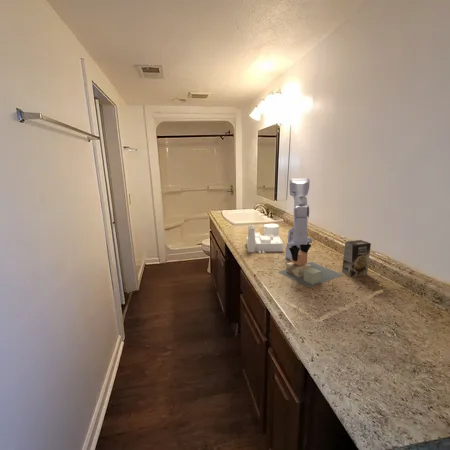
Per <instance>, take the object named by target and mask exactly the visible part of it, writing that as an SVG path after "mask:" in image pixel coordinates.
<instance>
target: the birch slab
mask: <svg viewBox="0 0 450 450" xmlns="http://www.w3.org/2000/svg"><path fill="white" fill-rule="evenodd" d="M307 263H308V262H307ZM307 263H306V264H302V265H297V264H295V263H292V262H291V261H290V262H287V263H285V264H286V265H285V267H286V268H285V270H286V271H287V272H289V273H291V274H293V275H295V276H297V277H301V276H304V270H305V269H308V268H311V265H310V264H307Z"/></svg>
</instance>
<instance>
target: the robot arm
mask: <svg viewBox="0 0 450 450" xmlns="http://www.w3.org/2000/svg"><path fill="white" fill-rule="evenodd" d="M309 189H310V179H309V177H308V178H292V177H291V178H290V179H289V195H290V197H293V204H294V205H293V226H292V227H291V228H290V229H289V230H288V232H287V242H286V246H285V255H284V257H285V259H286V260H287V259H288V260H289V261H291V259H293V261H297V258H298V253H299V250H301V251H303V252H306V253H307V254H308V251H309V250H310V248H311V247H312V243H313V238H311V237H308V235H309V234H308V221H309V220H308V219H309V217H310V207H309V206H310V205H309V204H308V198H307V197H306V196H308V194H309V191H310V190H309Z"/></svg>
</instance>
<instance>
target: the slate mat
mask: <svg viewBox="0 0 450 450" xmlns="http://www.w3.org/2000/svg"><path fill="white" fill-rule="evenodd" d="M307 264H310V265H311V268H315V269H317V270H319V271H321V279H320V282H318V283H316V284H313V285H312V284H310V283H308V282H306V281H304V276H301V277H297V276H295V275H293V274H291V273H289V272H287V271H286V269H282V270H279V271H278V274H281V275H282V276H285V277H287V278H288V279H290V280H292V281H295V282H296V283H299V284H300V285H302V286H304V287H305V288H308V289H309V288H312V287H314V286H317V285H320V284H323V283H326V282H328V281H330V280H334V279H337V278H340V277H342V276H344V273H343V274H342V273H340V272H337V271H335V270H333V269H330V268H328V267H326V266H323V265H320V264H318V263H315V262H313V261H309V262H307Z"/></svg>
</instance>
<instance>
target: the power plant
mask: <svg viewBox="0 0 450 450" xmlns="http://www.w3.org/2000/svg"><path fill="white" fill-rule="evenodd" d="M247 228H248V229H247V230H248V231H247V232H248V233H247V236H245V237H246V249H247V253H255V252H257V253H258V254H259V255H261V254H263V255H265V253H266V252H284V249H283V248H284V242H283V240H282V238H280V235H279V231H280V226H279V225H278V224H277V223H265V224H263V234H261V233H260V232H259V231H255V226H254V224H249V225H248V227H247Z"/></svg>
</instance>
